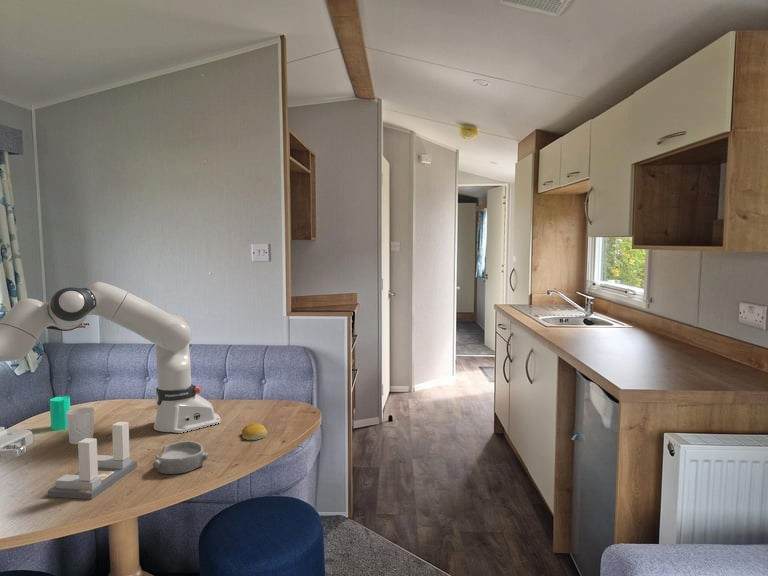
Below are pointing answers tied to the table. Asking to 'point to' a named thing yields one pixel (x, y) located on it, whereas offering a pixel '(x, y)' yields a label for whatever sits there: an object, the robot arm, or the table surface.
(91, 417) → the white cup
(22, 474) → the table surface
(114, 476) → the switch box
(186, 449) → the dish
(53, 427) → the candle
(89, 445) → the front knob
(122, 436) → the rear knob
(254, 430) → the bread roll
